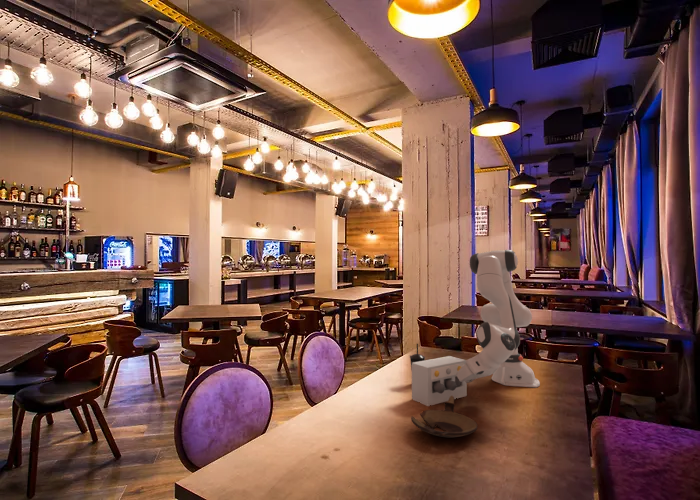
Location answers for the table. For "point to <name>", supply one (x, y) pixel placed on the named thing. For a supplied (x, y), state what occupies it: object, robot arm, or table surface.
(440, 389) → the button
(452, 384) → the button
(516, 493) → the table surface
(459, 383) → the button
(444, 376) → the console
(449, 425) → the oil lamp
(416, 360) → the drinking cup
